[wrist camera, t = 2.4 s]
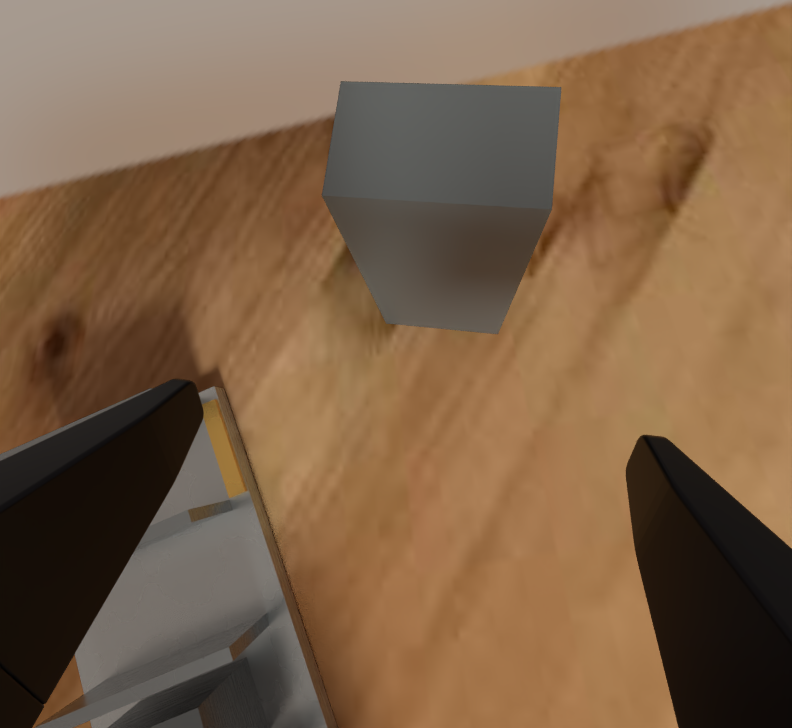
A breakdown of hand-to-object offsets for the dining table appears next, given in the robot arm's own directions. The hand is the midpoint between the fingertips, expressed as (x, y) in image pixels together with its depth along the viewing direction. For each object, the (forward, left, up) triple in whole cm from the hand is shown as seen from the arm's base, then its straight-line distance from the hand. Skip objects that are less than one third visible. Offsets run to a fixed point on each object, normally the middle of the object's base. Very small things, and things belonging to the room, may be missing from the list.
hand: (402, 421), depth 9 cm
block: (+5, -4, -13) cm, 15 cm away
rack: (0, +14, -13) cm, 19 cm away
